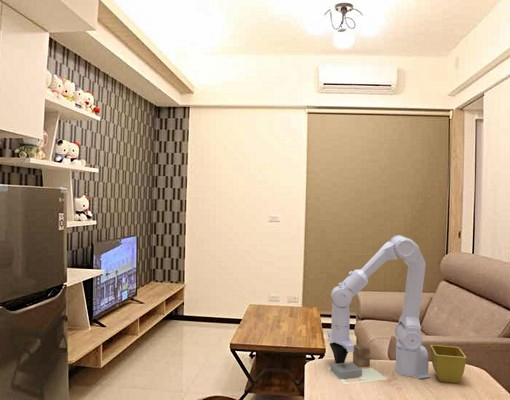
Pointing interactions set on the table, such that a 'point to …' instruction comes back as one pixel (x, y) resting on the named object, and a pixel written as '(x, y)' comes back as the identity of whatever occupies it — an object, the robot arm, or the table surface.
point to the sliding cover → (346, 370)
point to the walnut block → (361, 355)
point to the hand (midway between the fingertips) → (339, 366)
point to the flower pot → (448, 362)
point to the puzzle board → (365, 375)
